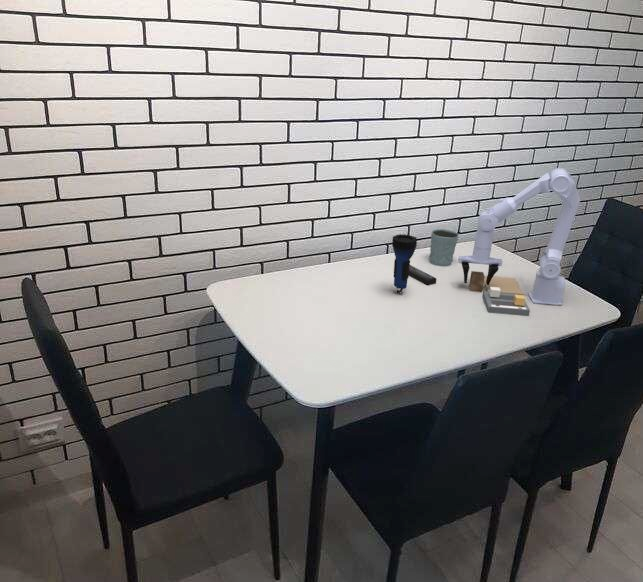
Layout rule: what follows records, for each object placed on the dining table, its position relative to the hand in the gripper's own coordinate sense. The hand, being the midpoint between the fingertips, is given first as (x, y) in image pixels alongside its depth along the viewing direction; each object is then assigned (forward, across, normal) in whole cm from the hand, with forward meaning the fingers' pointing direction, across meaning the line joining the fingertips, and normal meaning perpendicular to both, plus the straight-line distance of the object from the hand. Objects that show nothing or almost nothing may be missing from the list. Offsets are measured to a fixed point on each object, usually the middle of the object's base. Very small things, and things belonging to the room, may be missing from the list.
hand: (476, 282), depth 201 cm
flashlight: (+3, +27, +9) cm, 29 cm away
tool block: (+2, 0, 0) cm, 2 cm away
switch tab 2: (0, -12, +14) cm, 19 cm away
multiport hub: (+3, +20, -7) cm, 21 cm away
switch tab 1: (0, -4, +10) cm, 11 cm away
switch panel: (+2, -8, +12) cm, 15 cm away
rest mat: (+2, -10, -5) cm, 12 cm away
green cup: (+3, +10, -24) cm, 26 cm away
